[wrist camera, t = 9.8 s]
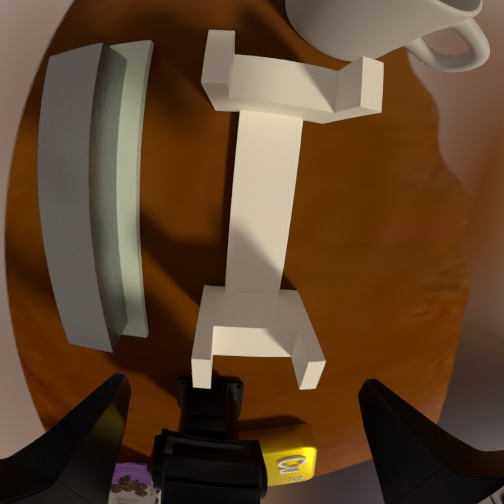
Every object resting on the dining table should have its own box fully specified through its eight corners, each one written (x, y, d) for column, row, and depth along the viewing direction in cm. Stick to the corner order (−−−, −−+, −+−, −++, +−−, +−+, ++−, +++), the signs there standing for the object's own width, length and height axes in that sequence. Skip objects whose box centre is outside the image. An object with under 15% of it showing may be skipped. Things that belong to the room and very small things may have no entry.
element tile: (195, 431, 29) (193, 461, 25) (311, 418, 29) (319, 448, 25) (221, 469, 35) (221, 492, 30) (309, 459, 35) (314, 481, 30)
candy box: (162, 461, 32) (153, 543, 17) (181, 473, 35) (177, 548, 19) (107, 460, 34) (92, 527, 18) (126, 472, 36) (116, 535, 21)
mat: (148, 332, 22) (146, 337, 21) (81, 321, 21) (78, 326, 20) (154, 43, 13) (150, 39, 13) (72, 57, 13) (67, 55, 12)
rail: (128, 321, 20) (112, 352, 17) (88, 314, 20) (69, 343, 16) (127, 59, 13) (103, 42, 9) (79, 68, 13) (49, 56, 9)
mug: (262, 21, 13) (291, -79, 3) (315, -36, 11) (363, -113, 1) (398, 113, 16) (512, 110, 6) (431, 48, 14) (524, 26, 4)
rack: (291, 318, 22) (314, 391, 15) (203, 314, 21) (193, 390, 14) (326, 87, 16) (383, 57, 8) (219, 73, 15) (209, 24, 7)
